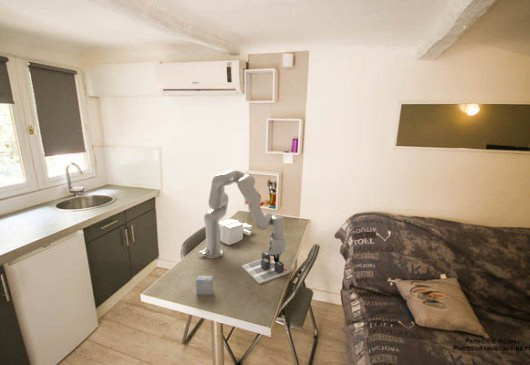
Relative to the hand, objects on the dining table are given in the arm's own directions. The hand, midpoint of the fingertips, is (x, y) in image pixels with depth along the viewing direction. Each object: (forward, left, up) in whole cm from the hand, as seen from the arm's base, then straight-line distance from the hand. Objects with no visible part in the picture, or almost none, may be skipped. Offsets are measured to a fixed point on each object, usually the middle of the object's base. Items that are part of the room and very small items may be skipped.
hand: (276, 262), depth 157 cm
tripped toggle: (-8, 0, -1) cm, 8 cm away
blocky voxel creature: (-3, +49, -3) cm, 49 cm away
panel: (-8, 0, -3) cm, 9 cm away
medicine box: (-47, -1, -3) cm, 47 cm away
